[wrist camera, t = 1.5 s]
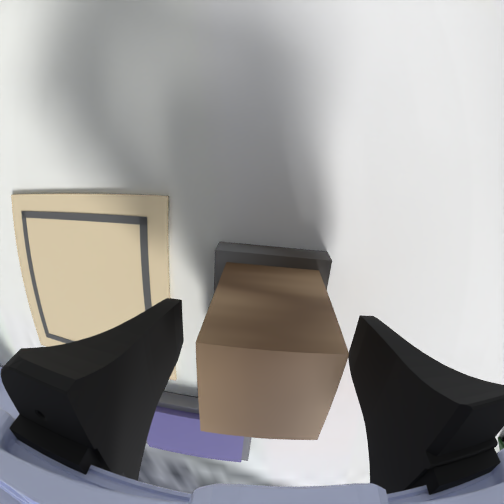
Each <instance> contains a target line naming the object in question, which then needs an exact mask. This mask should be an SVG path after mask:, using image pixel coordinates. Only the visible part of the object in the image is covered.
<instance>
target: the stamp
mask: <svg viewBox="0 0 504 504" xmlns="http://www.w3.org/2000/svg"><path fill="white" fill-rule="evenodd" d="M331 263H332V260H331V258H330V256H329V254H328V252H325V251H314V250H303V249H293V248H282V247H271V246H260V245H249V244H238V243H227V242H220V243H219V244H218V246H217V248H216V250H215V280H214V296H213V298H212V301H211V303H210V306H209V309H208V311H207V314H206V316H205V319H204V322H203V324H202V327H201V330H200V332H199V335H198V338H197V340H196V364H197V384H198V402H199V417H200V430H201V431H204V432H210V433H217V434H225V435H233V436H243V437H254V438H268V439H291V440H317V439H318V437H319V434H320V432H321V429H322V427H323V425H324V422H325V420H326V417H327V415H328V412H329V410H330V407H331V404H332V402H333V399H334V396H335V394H336V391H337V388H338V385H339V383H340V380H341V377H342V374H343V371H344V368H345V365H346V362H347V359H348V356H349V353H348V350H347V347H346V344H345V341H344V338H343V335H342V332H341V329H340V326H339V324H338V321H337V318H336V315H335V312H334V309H333V307H332V304H331V301H330V298H329V296H328V293H327V285H328V280H329V275H330V269H331Z"/></svg>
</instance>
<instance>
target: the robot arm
mask: <svg viewBox="0 0 504 504" xmlns="http://www.w3.org/2000/svg"><path fill="white" fill-rule="evenodd" d="M182 344H183V322H182V300H178V299H171V298H166V299H164V300H162V301H161V302H159V303H157V304H156V305H154V306H152V307H151V308H149V309H147V310H146V311H144V312H142V313H141V314H139V315H137V316H135V317H134V318H132V319H130V320H128V321H126V322H124V323H122V324H120V325H118V326H116V327H114V328H112V329H110V330H107V331H105V332H102V333H100V334H97V335H95V336H92V337H88V338H85V339H81V340H78V341H75V342H71V343H66V344H61V345H55V346H49V347H39V348H23V349H20V350H19V351H18V352H17V353H16V354H15V355H14V356H13V357H12V358H11V359H10V360H9V361H8V362H7V363H6V365H5V366H4V367H3V368H2V367H0V504H504V448H503V449H502V450H500V451H499V452H498V453H496V451H495V449H494V447H496V446H497V444H498V442H497V440H496V438H495V436H496V435H497V434H498V432H499V431H500V430H501V429H502V428H503V426H504V385H501V384H496V383H491V382H487V381H483V380H480V379H477V378H474V377H471V376H468V375H466V374H463V373H460V372H458V371H456V370H454V369H451V368H449V367H447V366H445V365H443V364H441V363H440V362H438V361H436V360H434V359H433V358H431V357H429V356H428V355H426V354H424V353H423V352H421V351H420V350H419V349H417V348H416V347H414V346H413V345H411V344H410V343H409V342H407V341H406V340H405V339H403V338H402V337H401V336H399V335H398V334H397V333H396V332H394V331H393V330H392V329H390V328H389V327H388V326H387V325H385V324H384V323H383V322H381V321H380V320H379V319H377V318H375V317H374V316H360V317H359V320H358V324H357V327H356V331H355V334H354V337H353V341H352V344H351V347H350V351H349V356H348V358H349V365H350V371H351V376H352V380H353V383H354V387H355V390H356V393H357V396H358V400H359V403H360V406H361V410H362V413H363V417H364V421H365V426H366V433H367V440H368V450H369V461H370V483H367V484H344V485H331V486H310V487H280V486H258V485H245V484H213V485H208V486H203V487H199V488H197V489H195V490H194V492H193V493H192V494H190V493H185V492H180V491H175V490H171V489H166V488H162V487H158V486H154V485H150V484H147V483H143V482H140V481H138V476H139V471H140V466H141V461H142V457H143V453H144V449H145V444H146V441H147V437H148V433H149V430H150V426H151V423H152V420H153V416H154V413H155V410H156V407H157V405H158V402H159V400H160V398H161V395H162V393H163V391H164V389H165V387H166V385H167V382H168V380H169V378H170V376H171V374H172V372H173V370H174V367H175V365H176V363H177V361H178V358H179V355H180V351H181V348H182Z"/></svg>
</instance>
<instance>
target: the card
mask: <svg viewBox="0 0 504 504" xmlns="http://www.w3.org/2000/svg"><path fill="white" fill-rule="evenodd" d="M11 198H12V211H13V221H14V229H15V237H16V244H17V250H18V256H19V262H20V267H21V272H22V277H23V282H24V286H25V290H26V294H27V298H28V302H29V306H30V310H31V313H32V317H33V320H34V324H35V327H36V330H37V333H38V337H39V340H40V343H41V345H44V346H47V347H49V346H55V345H61V344H66V343H71V342H75V341H78V340H81V339H85V338H88V337H92V336H95V335H97V334H100V333H102V332H105V331H107V330H110V329H112V328H114V327H116V326H118V325H120V324H122V323H124V322H126V321H128V320H130V319H132V318H134V317H135V316H137V315H139V314H141V313H142V312H144V311H146V310H147V309H149V308H151V307H152V306H154V305H156V304H157V303H159V302H161V301H162V300H164V299H166V298H170V285H169V251H168V199H169V196H158V195H132V194H78V193H59V194H13V195H11ZM169 379H170V380H176V369H175V367H174V370H173V372H172V374H171V376H170V378H169Z"/></svg>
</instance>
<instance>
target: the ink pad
mask: <svg viewBox="0 0 504 504" xmlns="http://www.w3.org/2000/svg"><path fill="white" fill-rule="evenodd" d="M146 443H147V444H148V445H149V446H150V447H154V448H158V449H163V450H167V451H172V452H176V453H181V454H187V455H192V456H198V457H204V458H210V459H217V460H225V461H234V462H241V460H246V461H248V457H249V450H250V443H251V437H243V436H233V435H225V434H217V433H210V432H204V431H201V430H200V417H199V402H198V397H192V396H186V395H180V394H175V393H169V392H164V391H163V393H162V395H161V398H160V400H159V402H158V405H157V407H156V410H155V413H154V416H153V420H152V423H151V426H150V430H149V433H148V437H147V441H146Z"/></svg>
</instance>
